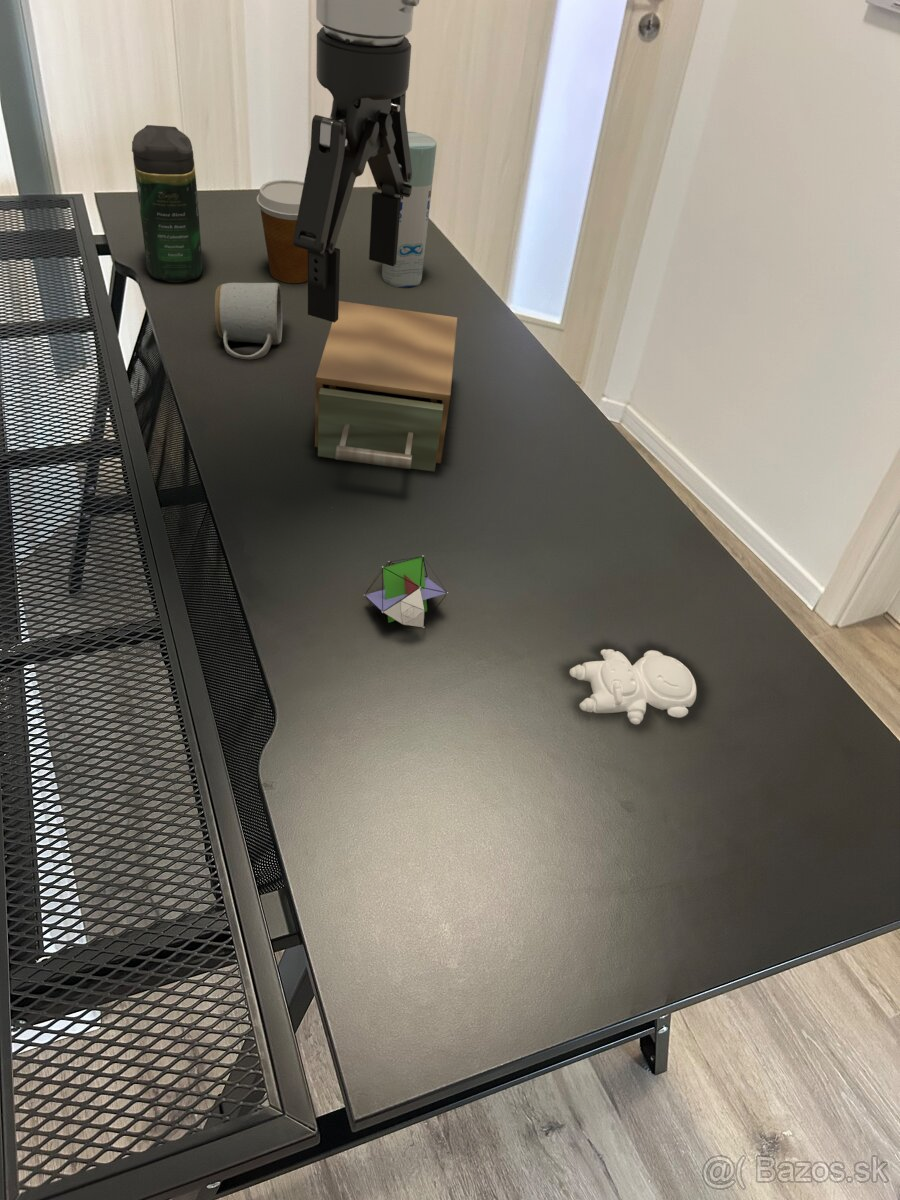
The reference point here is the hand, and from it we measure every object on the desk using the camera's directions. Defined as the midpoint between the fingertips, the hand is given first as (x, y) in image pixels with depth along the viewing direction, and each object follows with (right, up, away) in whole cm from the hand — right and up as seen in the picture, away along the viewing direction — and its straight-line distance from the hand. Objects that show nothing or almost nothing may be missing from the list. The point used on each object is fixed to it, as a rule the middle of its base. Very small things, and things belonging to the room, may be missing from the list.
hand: (354, 288), depth 82 cm
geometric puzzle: (+5, -32, 0) cm, 32 cm away
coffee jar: (-31, +18, +43) cm, 56 cm away
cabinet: (+1, -8, +23) cm, 24 cm away
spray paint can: (+2, +20, +50) cm, 53 cm away
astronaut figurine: (+26, -39, -3) cm, 47 cm away
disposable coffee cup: (-15, +19, +46) cm, 52 cm away
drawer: (+1, -11, +18) cm, 21 cm away
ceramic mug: (-17, +4, +31) cm, 36 cm away
